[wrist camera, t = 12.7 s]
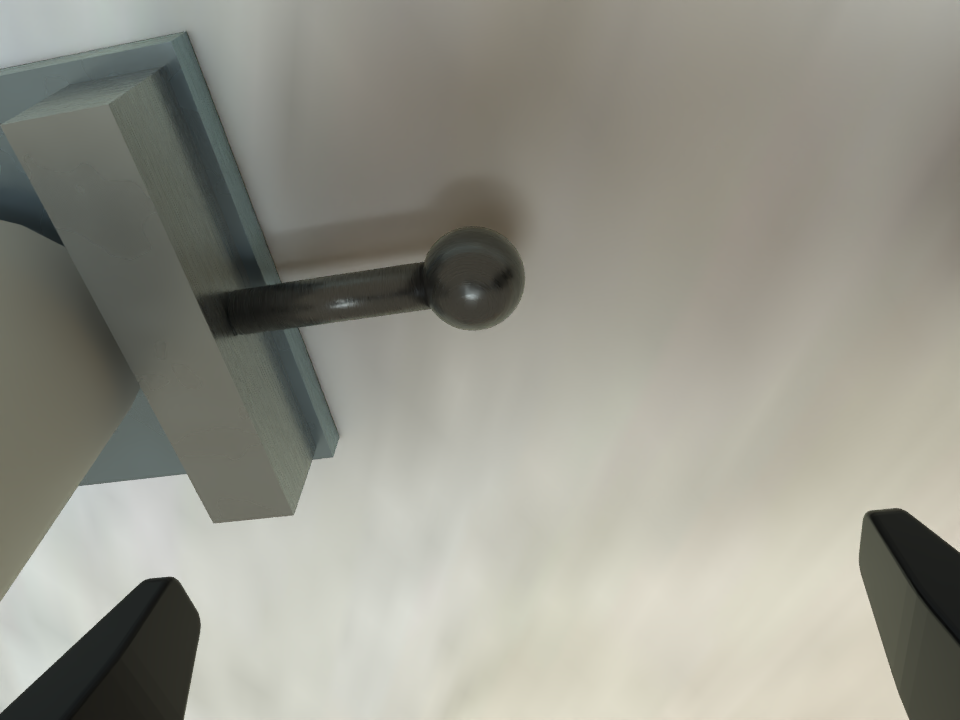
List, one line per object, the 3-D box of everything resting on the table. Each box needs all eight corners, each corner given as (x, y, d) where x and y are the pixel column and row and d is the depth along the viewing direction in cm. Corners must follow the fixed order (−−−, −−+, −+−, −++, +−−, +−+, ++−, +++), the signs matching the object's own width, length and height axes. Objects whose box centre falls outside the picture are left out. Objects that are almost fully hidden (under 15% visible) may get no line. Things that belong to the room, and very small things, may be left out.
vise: (480, -29, 18) (458, 44, 12) (556, 411, 25) (564, 587, 19) (-332, 136, 21) (-648, 254, 16) (-61, 483, 29) (-209, 652, 23)
